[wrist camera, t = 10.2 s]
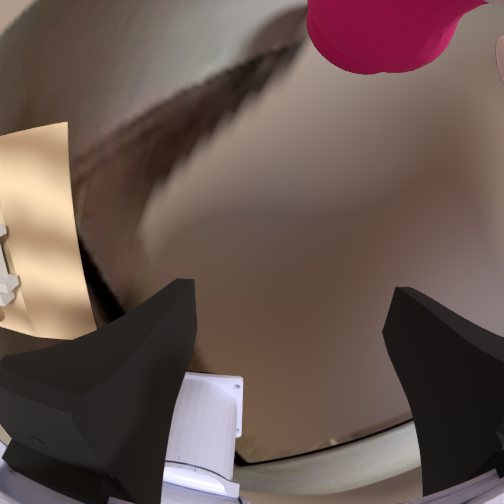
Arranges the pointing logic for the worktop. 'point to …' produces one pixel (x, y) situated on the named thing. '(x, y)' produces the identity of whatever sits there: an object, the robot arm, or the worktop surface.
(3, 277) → the white tabbed block
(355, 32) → the pepper mill
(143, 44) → the worktop surface
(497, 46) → the foam cup
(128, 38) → the worktop surface
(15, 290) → the dock
